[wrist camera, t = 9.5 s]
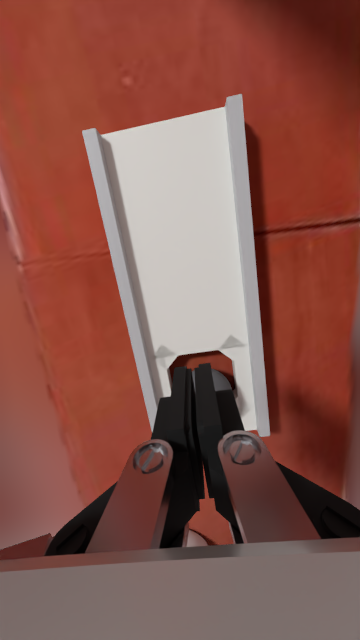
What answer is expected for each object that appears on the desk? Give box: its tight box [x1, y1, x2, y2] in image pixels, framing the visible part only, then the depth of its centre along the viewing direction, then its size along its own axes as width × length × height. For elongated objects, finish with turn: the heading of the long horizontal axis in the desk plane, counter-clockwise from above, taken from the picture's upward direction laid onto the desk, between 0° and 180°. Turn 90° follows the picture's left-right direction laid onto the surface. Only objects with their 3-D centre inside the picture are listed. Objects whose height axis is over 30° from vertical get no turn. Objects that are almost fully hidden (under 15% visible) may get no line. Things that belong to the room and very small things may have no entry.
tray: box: [82, 94, 270, 437], centre depth 21 cm, size 28×12×2 cm, turn 9°
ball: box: [192, 369, 232, 391], centre depth 21 cm, size 5×5×5 cm
